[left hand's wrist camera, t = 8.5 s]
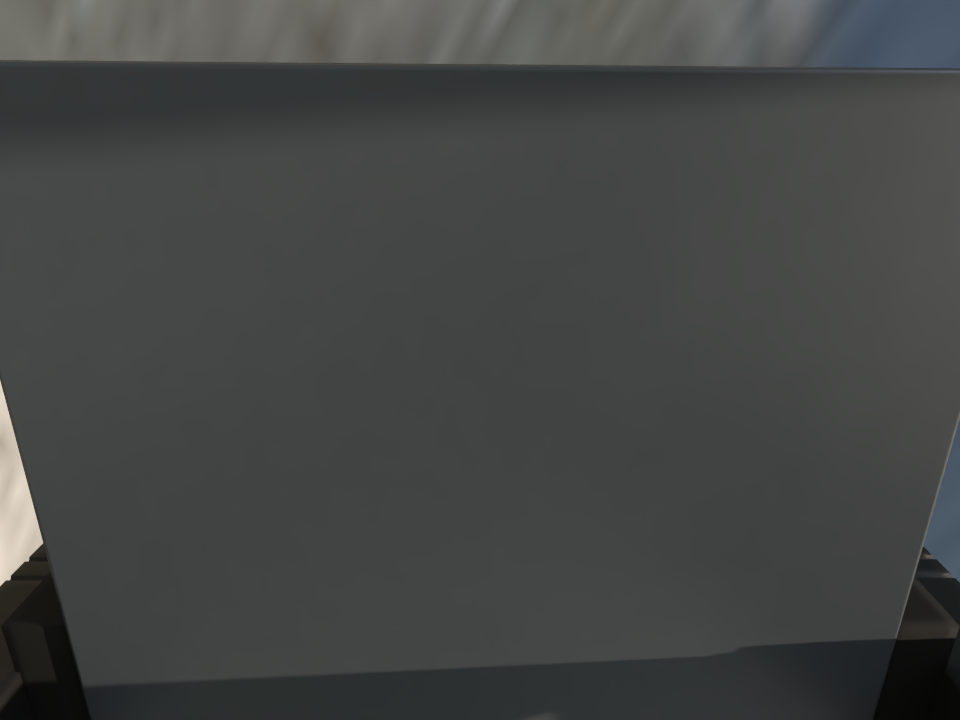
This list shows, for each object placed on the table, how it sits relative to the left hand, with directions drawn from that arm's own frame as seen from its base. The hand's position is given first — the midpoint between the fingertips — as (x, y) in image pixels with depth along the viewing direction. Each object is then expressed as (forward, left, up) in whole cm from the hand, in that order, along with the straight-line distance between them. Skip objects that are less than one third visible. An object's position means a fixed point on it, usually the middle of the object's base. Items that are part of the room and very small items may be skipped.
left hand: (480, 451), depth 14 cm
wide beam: (+19, +14, -1) cm, 24 cm away
